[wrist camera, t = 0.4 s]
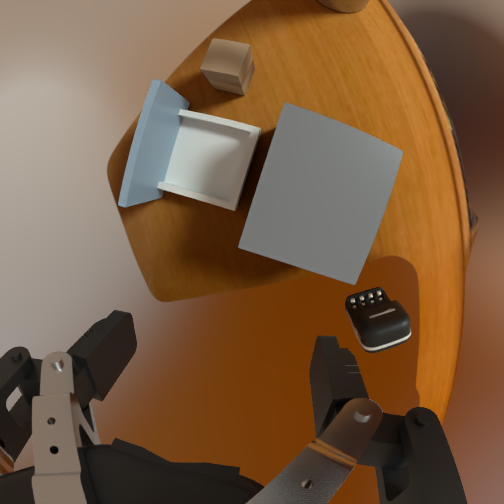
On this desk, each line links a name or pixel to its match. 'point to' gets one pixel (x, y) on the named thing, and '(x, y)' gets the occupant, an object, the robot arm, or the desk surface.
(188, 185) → the drawer
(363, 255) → the cabinet
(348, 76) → the desk surface
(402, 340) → the battery charger
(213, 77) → the block
